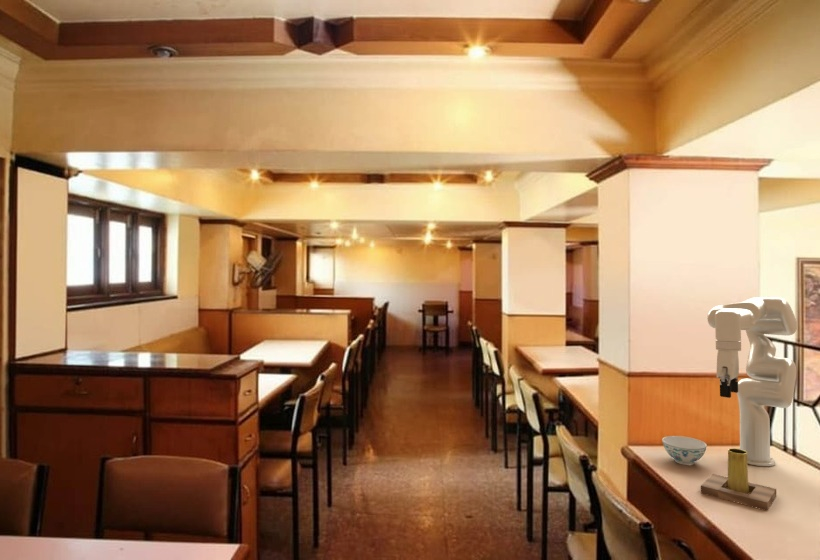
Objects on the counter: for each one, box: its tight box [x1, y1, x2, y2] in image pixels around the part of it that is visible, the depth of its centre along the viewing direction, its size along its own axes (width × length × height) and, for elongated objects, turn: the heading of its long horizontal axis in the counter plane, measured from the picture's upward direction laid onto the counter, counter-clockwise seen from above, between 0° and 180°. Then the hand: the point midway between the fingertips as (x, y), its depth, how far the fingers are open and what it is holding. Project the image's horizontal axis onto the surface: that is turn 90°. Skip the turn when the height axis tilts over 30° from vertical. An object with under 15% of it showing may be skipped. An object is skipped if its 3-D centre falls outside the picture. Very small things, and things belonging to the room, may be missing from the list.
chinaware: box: [661, 435, 708, 466], centre depth 190 cm, size 15×15×8 cm
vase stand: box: [700, 473, 777, 511], centre depth 160 cm, size 14×18×2 cm
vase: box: [727, 447, 750, 495], centre depth 160 cm, size 6×6×14 cm
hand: (729, 394), depth 172 cm, fingers open, 9 cm apart
